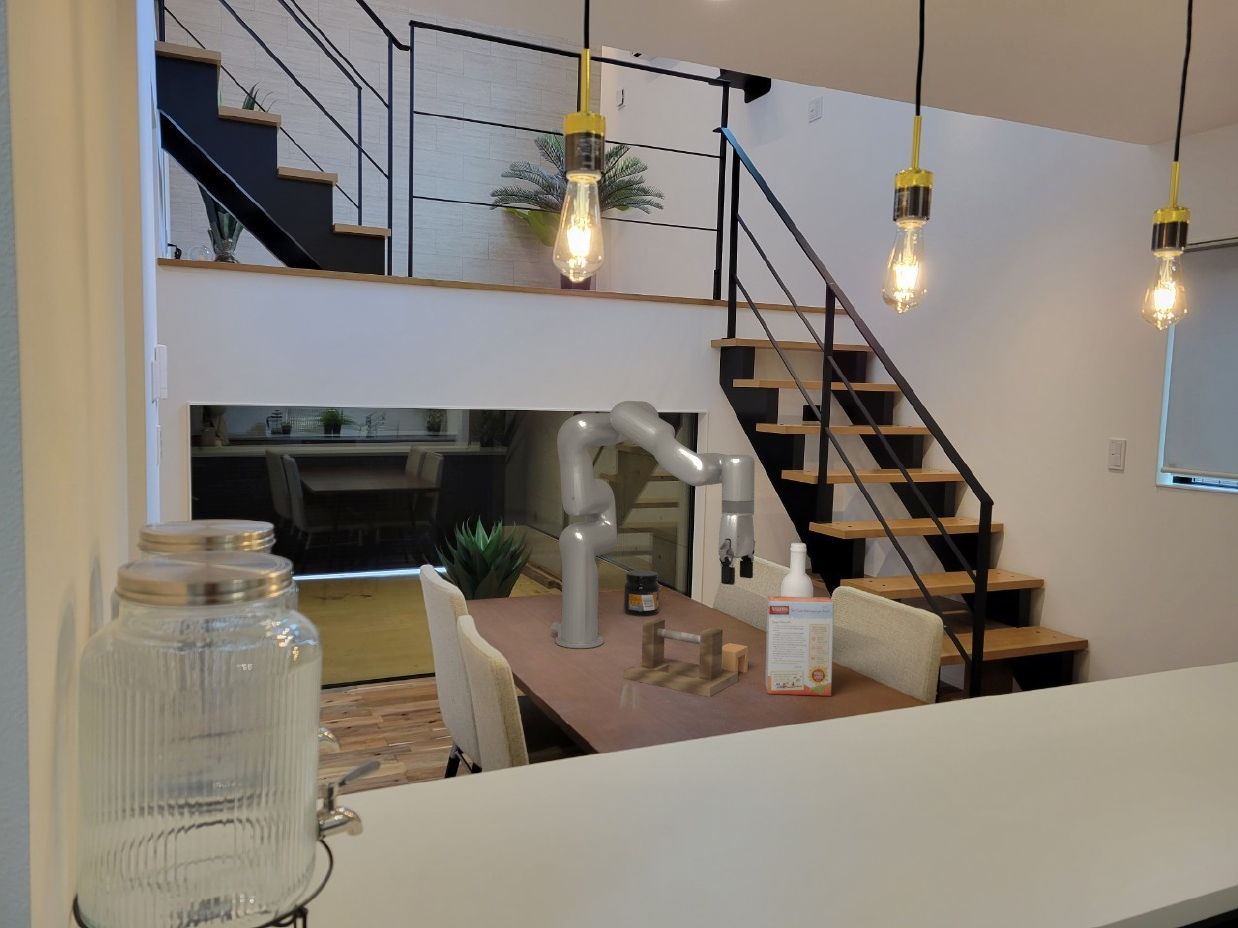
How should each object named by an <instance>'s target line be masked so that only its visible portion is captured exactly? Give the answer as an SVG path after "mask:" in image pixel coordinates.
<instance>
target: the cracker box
mask: <svg viewBox="0 0 1238 928" xmlns="http://www.w3.org/2000/svg"><path fill="white" fill-rule="evenodd" d="M766 598H767V600H766V604H767V606H766V636H765V638H766V639H765V640H766V643H765V645H766V646H765V647H766V648H765V650H766V651H765V690H766V692H767V694H768V695H794V696H795V695H797V696H799V695H800V696H802V695H803V696H804V695H805V696H819V697H820V696H824V697H827V696H828V697H830V696H832V681H833V643H834V641H833V640H834V639H833V638H834V607H835V603H834V602H833V600H832V599H831V598H830V597H821V596H819V597H818V596H817V597H816V596H813V597H787V596H781V595H778V596H777V595H774V596H773V595H768V596H767V597H766Z"/></svg>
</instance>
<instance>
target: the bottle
mask: <svg viewBox="0 0 1238 928" xmlns="http://www.w3.org/2000/svg"><path fill="white" fill-rule="evenodd" d="M789 550H790V562H789V565H790V567H789V572H788V573H787V574H785V576H784V577H782V582H781V584H780V596H787V597H814V585H813V581H812V578H811V577H810V575H808V574H807V573H806V560H807V559H806V558H807V557H806V556H807V544H806V543H804V542H792V543H791V544H790V548H789Z"/></svg>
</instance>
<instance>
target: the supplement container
mask: <svg viewBox="0 0 1238 928" xmlns="http://www.w3.org/2000/svg"><path fill="white" fill-rule="evenodd" d="M658 574H659V573H658V572H656V571H651V570H643V569H642V570H640V569H639V570H630V571H627V572H626V573H625V580H626V581H625V583H624V584H623V588H624V593H623V594H624V595H623V596H624V598H623V604H624V605H623V610H624V612H625V614H628V615H630V616H638V617H649V616H653V615H656V614H657V613H658V612H659V609H660V608H659V601H660V599H659V596H660V595H659V593H660V591H659V590H660V584H659V583H658V580H659V578H658V577H659V575H658Z"/></svg>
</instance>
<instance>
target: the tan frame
mask: <svg viewBox="0 0 1238 928" xmlns="http://www.w3.org/2000/svg"><path fill="white" fill-rule="evenodd" d="M665 627H666V619H661V618H656V617H653V618H650V619H648V620H645V621H642V635H641V636H642V642H641V644H642V645H641V646H642V647H641V661H640V662H639V663H636V664H634V665H632V666H629V667H627V668H625V669H624V670H623V679H625V680H629V681H635V682H640V683H643V684H649V685H653V686H657V687H661V688H666V689H671V690H674V691H675V690H676V691H680V692H684V693H685V692H686V693H689V694H695V695H700V696H703V697H709V698H710V697H712V696H714V695H716V694H717V693H719V692H722V690H724V689H727V688H728V687H729V686H732V685H733V684H735V683H737V682H738V681H739V671H738V672H734V671H729V670H724V669H722V646H723V631H724V630H723V629H721V628H715V627H709V628H707V629H704V630H702V631H700V633H699V634H700V635H699V634H695V633H689V632H683V631H677V630H674V629H673V630H672V629H666V628H665ZM665 639H667V640H673V641H678V642H685V643H690V644H695V645H699V664H698V663H697V664H696V663H693V662H687V661H682V660H677V659H672V658H665Z"/></svg>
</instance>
